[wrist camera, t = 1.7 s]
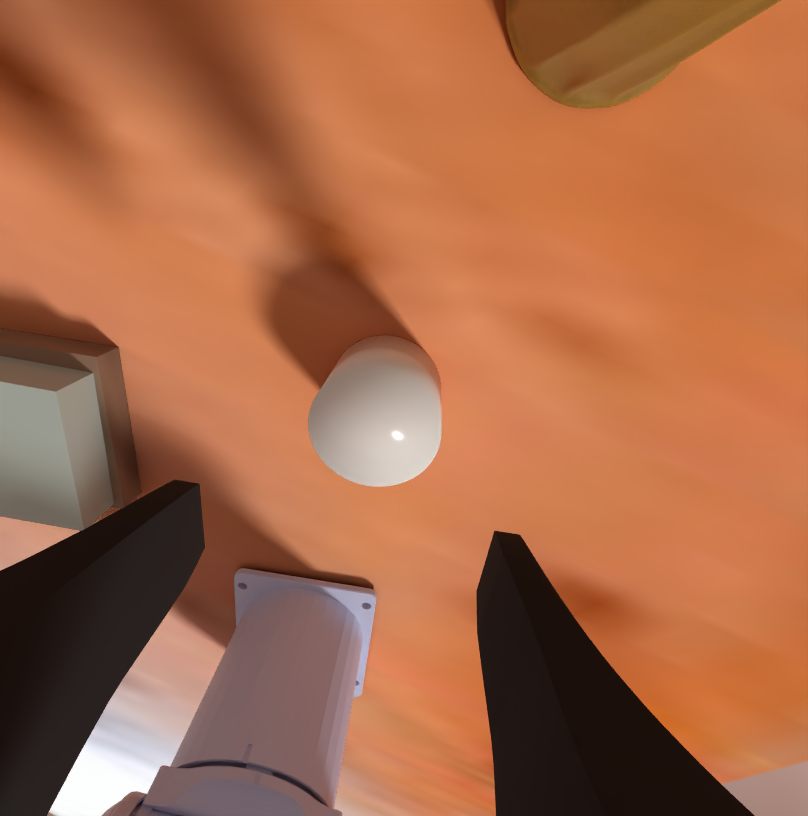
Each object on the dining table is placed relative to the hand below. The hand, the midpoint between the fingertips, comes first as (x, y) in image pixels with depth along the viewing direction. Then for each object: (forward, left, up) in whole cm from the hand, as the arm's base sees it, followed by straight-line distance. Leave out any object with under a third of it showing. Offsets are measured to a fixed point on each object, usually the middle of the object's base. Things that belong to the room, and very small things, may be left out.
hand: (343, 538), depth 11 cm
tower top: (-4, +16, -8) cm, 18 cm away
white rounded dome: (0, 0, -10) cm, 10 cm away
